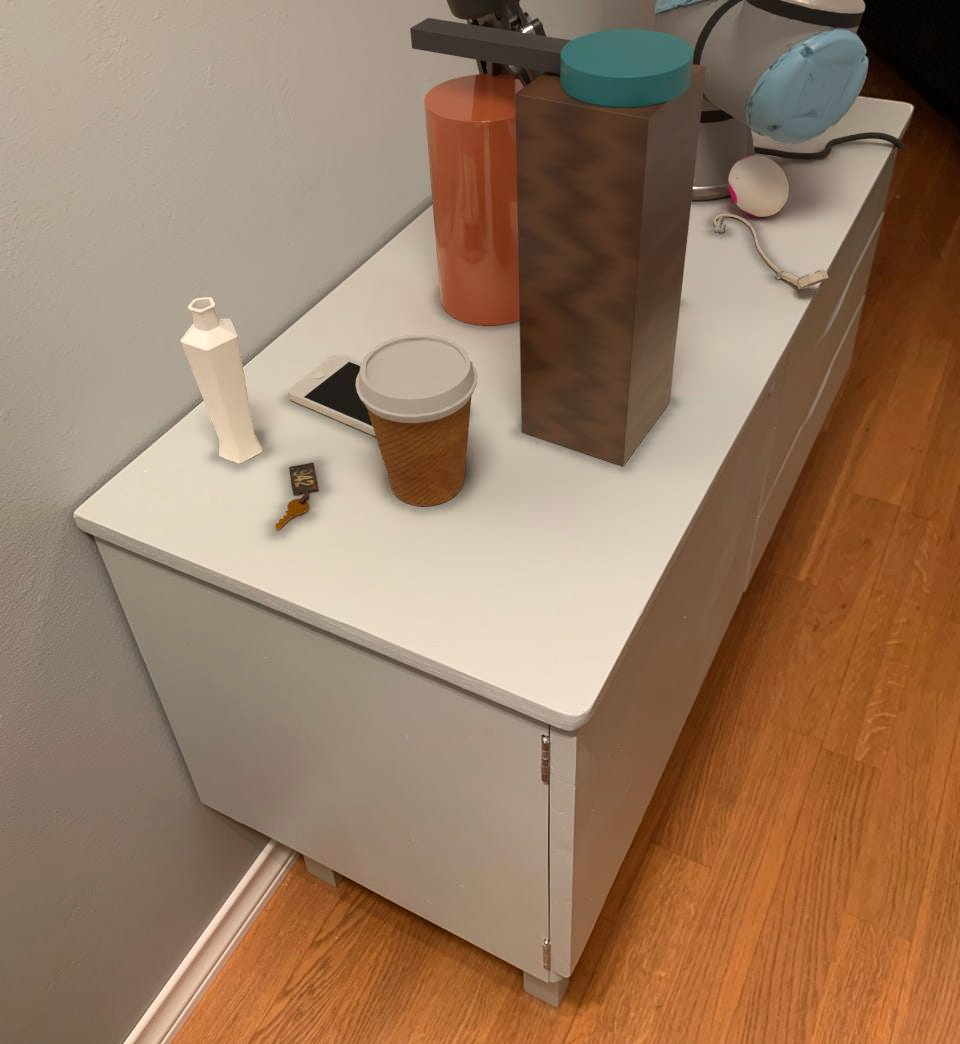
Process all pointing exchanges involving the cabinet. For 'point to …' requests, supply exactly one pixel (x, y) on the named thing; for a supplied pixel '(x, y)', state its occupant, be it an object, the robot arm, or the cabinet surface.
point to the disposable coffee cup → (420, 413)
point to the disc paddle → (576, 59)
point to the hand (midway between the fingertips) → (557, 173)
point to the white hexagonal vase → (221, 380)
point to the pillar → (601, 261)
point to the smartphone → (334, 393)
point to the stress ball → (758, 186)
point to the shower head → (800, 282)
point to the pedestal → (475, 196)
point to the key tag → (299, 490)
